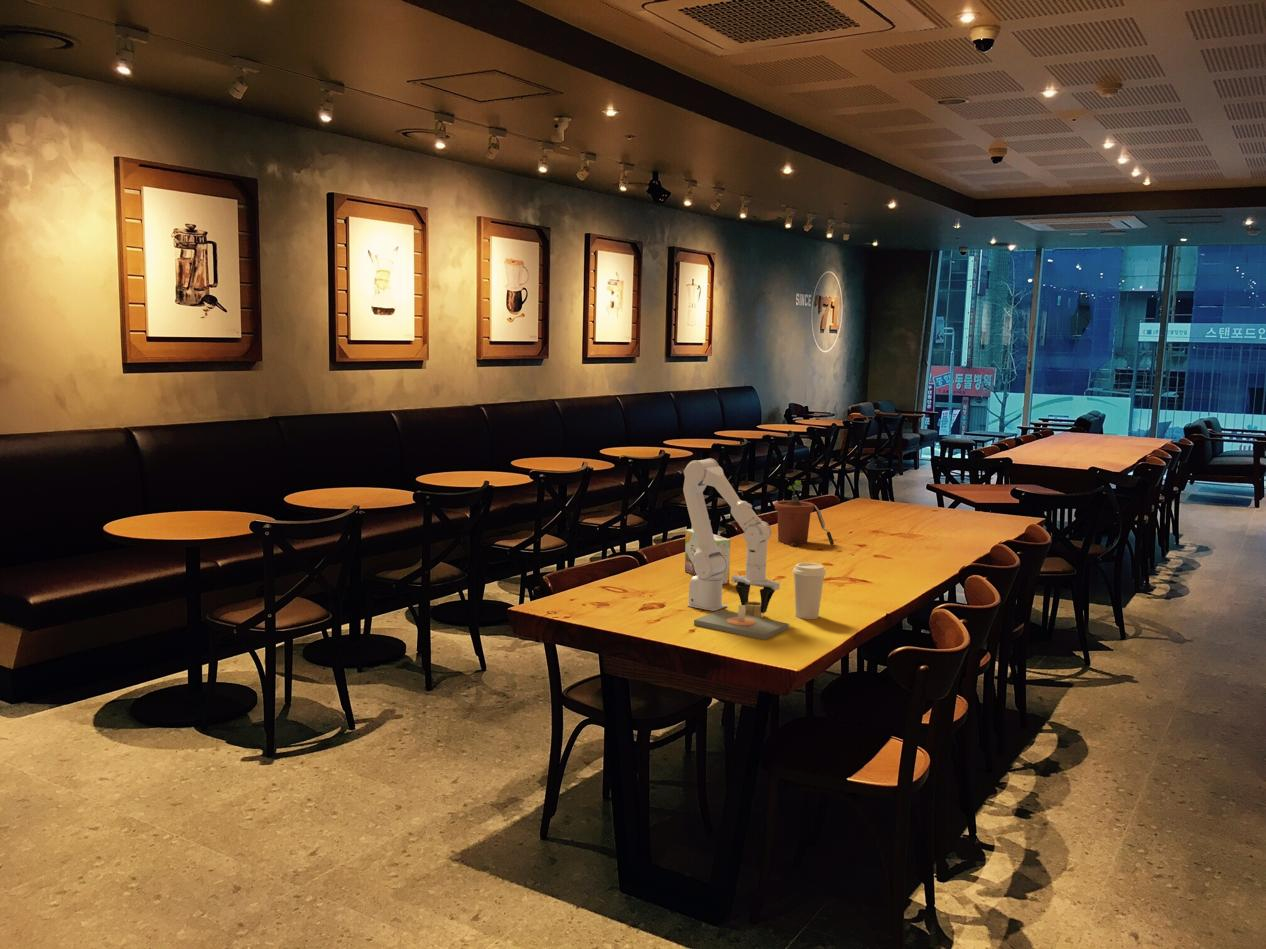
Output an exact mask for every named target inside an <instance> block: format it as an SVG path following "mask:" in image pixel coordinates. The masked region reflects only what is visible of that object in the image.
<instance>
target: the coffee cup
mask: <svg viewBox="0 0 1266 949" xmlns="http://www.w3.org/2000/svg"><path fill="white" fill-rule="evenodd" d="M791 572H792V573H793V578H794V605H795V606H794V609H795V611H794V612H795V617H797V618H798V619H803V620H815V619H818V618H819V614H820V607H821V600H822V592H823V587H824V580H825V576H826V575H827V573H826V570H825V568H824V565H822V564H819V563H813V562H798V563H796V564H795V565H794V568H793V569H792V571H791Z"/></svg>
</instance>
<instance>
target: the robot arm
mask: <svg viewBox="0 0 1266 949" xmlns="http://www.w3.org/2000/svg"><path fill="white" fill-rule="evenodd" d="M683 476H684V481H683V486H682V487H683V488H682V490H683V495H684V499H685V502H686V506H687V511H688V515H689V519H690V523H691V529H693V532H694V536H695V540H696V544H697V550H696V552H695V554H694V558H695V565H694V569H695V572H696V574H697V575H695V576H694V575H692V577H691V578H690V582H689V586H688V587H689V590H688V603H687V607H692V608H696V609H702V610H707V611H711V612H716V611H718V610H721V609H723V608H726V607H728V604H725V603H722V602H723V601H722V600H723V584H722V582H723V573H724V572H725V571H726V569H727V565H728V564H727V560H726V558H725V557H724V555H723V554H722V551H721V548H720V547H719V546H718V545H716V543H715V540H714V536H713V534H714V533H713V528H712V525H711V522H710V518H709V512H708V508H707V504H706V501H705V496H704V493H703V492H704V491H705V490H706V488H707V486H710V487H713V488H715V490H716V491H717V493H719V495H720V496H721V497H722V498H723V500H725V502H726V503H727V504H728V505H729V506H730V514H731V516H732V517H733V518H734V520H735V521H736V523H737V524H738V526H740V528H741V529H742V531H743V538H744V540H745V542H746V562H745V575H738V574H734V575H732V576H731V583H733V584H736V585H735V587H734V588H735V590H736V592H737V594H738V597H739V600H740V603H741V604H740V605H744V603H745V602H747V601H749V595H750V594H749V593H750V588H751V586H753V587H759V588H760V587H761V589H759V595H760V602H761V613H764V614H765V613H767V609H768V607H769V603H770V602H771V600H772V599H771V598H772V597H773V595H774V593H775V592H776V591H777V590H780V584H781V582H779V581H774V580H771V579H767V578H766V577H767V576H766V575H767V559H768V558H767V554H768V540H769V539H770V538H771V536H772V530H771V529H772V528H771V526H770V525H769V523H768V522H766V521H763V520H762V518H760V517H759V516H758V515H757V514H756V512H755V511H754V510H753V505H752V504H751V503H749V502H748V501H746V500H741V499H740V497H739V496H738V494H737V492H736V490H735V489H734V488H733V487H732V485H731V483H730V482H729V480H728V479H727V477H726V475H725V473H724V470H723V468H722V467H721V466H720V465H719V463H718V462H717V460H715V459H714V458H710V457H709V458H705V459H700V460H696V459H695V460H691V461H690V462H689V463H687V465H686V467H685V468H684V469H683Z"/></svg>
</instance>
